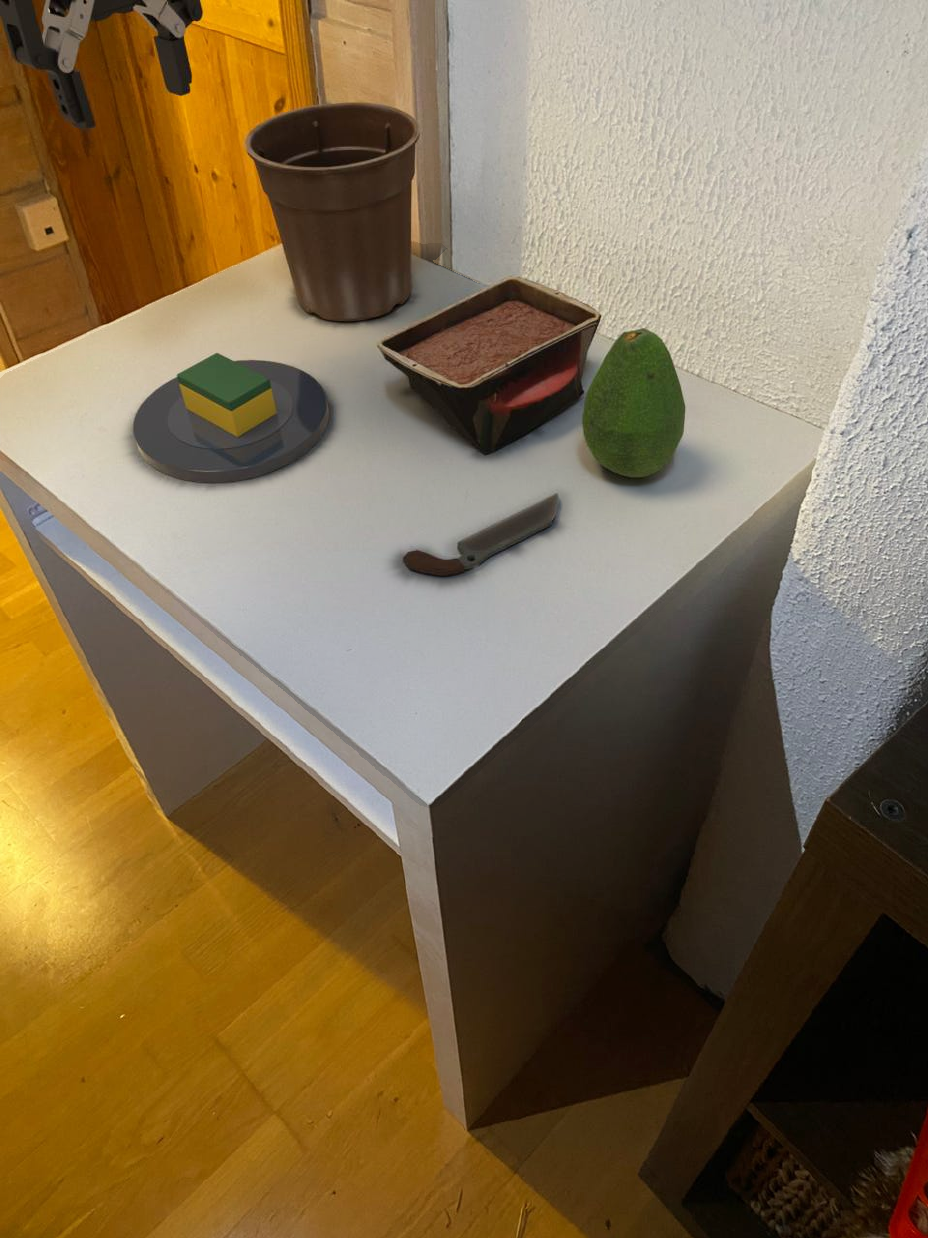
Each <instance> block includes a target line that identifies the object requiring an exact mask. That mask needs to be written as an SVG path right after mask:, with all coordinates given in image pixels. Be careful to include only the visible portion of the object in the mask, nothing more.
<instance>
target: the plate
mask: <svg viewBox="0 0 928 1238" xmlns="http://www.w3.org/2000/svg"><path fill="white" fill-rule="evenodd" d="M234 361H235V362H237V363H239V364H241V365H243V366H245V367H247V368H249V369H251V370H253V371H255V372H257V373H258V374H260V375H262V376H264V377H266V378H268V379H269V380H270V384H271V389H272V393H273V398H274V403H275V407H276V412H277V413H276V414H275V415H273V416H272V417H270V418H268V419H267V420H265V421H263V422H262V423H260V424H259V425H257V426H255V427H254V428H252V429H250V430H249V431H247V432H246V433H244V434H242V435H241V436H239V437H236V436H234V435H233V434H231V433H229V432H227V431H226V430H224V429H222V428H220V427H218V426H217V425H215V424H213V423H211V422H209V421H208V420H206V419H204V418H202V417H201V416H199V415H197V414H195V413H193V412H192V411H190V410H188V409H187V408H186V405H185V401H184V398H183V395H182V391H181V388H180V385H179V384H180V383H179V381H178V378H177V376H175V377H174V378H171V379H169V380H168V381H167V382H165V383H163V384H161V385H160V386H159V387H158V388H157V389H155V390H154V391H152V393H150V394H149V395H148V396H147V397H146V398H145V399H144V400H143V402H142V403H141V404H140V405H139V408H138V409H137V411H136V413H135V416H134V418H133V422H132V423H133V424H132V434H133V437H134V441H135V443H136V447H137V449H138V452H139V453H140V455H141V457H142V459H144V460H145V461H146V463H147V464H149V466H151V467H152V468H153V469H155V470H157V471H159V472H160V473H162V474H164V475H167V476H170V477H172V478H175V479H179V480H183V481H187V482H195V483H208V484H209V483H211V484H213V483H216V484H217V483H229V482H230V483H232V482H239V481H243V480H249V479H254V478H257V477H260V476H264V475H266V474H271V473H272V472H276V471H277V470H280V469H282V468H284V467H286V466H288V465H291V463H294V462H295V461H297V460H299V459H300V458H301V457H303V456H304V455H305V454H306V453H308V452H309V451H310V450H311V449H312V448H313V447H315V446H316V444H317V443H318V442H319V441H320V439H321V438H322V437H323V435H324V433H325V431H326V429H327V426H328V424H329V417H330V411H329V410H330V409H329V405H328V403H329V402H328V398H327V395H326V391H325V390H324V388H323V386H322V385H321V384H320V382H318V380H317V379H316V378H314V377H313V376H312V375H311V374H309V373H307V371H305V370H302V369H301V368H298V367H296V366H292V365H289V364H286V363H282V362H276V361H272V360H261V359H242V360H241V359H239V360H234Z"/></svg>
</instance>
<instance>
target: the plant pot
mask: <svg viewBox="0 0 928 1238" xmlns="http://www.w3.org/2000/svg"><path fill="white" fill-rule="evenodd" d="M420 134H421V128H420V125H419V122H418V121H417V119H416V118H415V117H414V116H412V115H411V114H409V113H408V112H405V111H403V110H401V109H399V108H397V107H393V106H389V105H386V104H380V103H373V102H359V101H358V102H357V101H354V102H353V101H351V102H345V101H344V102H336V103H320V104H315V105H309V106H303V107H299V108H296V109H292V110H288V111H284V112H282V113H279V114H277V115H274V116H272V117H269V118H267V119H265V120H264V121H262V122H260V123H258V124H257V125H256V126H254V127H253V128H252V129H251V130H250V131H249V132H248V133H247V135H246V137H245V140H244V147H245V148H244V149H245V151H246V154H247V155H248V156H249V157H250V159H251V160H253V163H254V165H255V168H256V171H257V175H258V179H259V182H260V187H261V189H262V191H263V193H264V194H265V195H266V196H267V198H268V202H269V205H270V209H271V212H272V215H273V219H274V221H275V225H276V228H277V231H278V235H279V239H280V242H281V246H282V249H283V252H284V256H285V259H286V263H287V266H288V267H287V268H288V271H289V274H290V277H291V280H292V284H293V289H294V291H295V296H296V299H297V302H298V304H299V306H300V307H301V309H303V310H304V311H305V312H306V313H308V314H312V313H314V314H316V315H318V316H319V317H320V318H321V319H323V320H327V321H334V322H335V321H336V322H356V321H357V322H359V321H365V320H371V319H373V318H378V317H381V316H383V315H386V314H388V313H390V312H391V311H392V309H393V308H394V307H395V306H396V305H397V304H398V305H403V304H404V303H405V302H406V301H407V300H408V299H409V298H410V295H411V291H412V198H413V197H412V196H413V195H412V194H413V193H412V191H413V190H412V189H413V179H414V178H415V173H416V144H417V143H418V141H419V139H420Z"/></svg>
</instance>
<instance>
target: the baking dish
mask: <svg viewBox="0 0 928 1238" xmlns="http://www.w3.org/2000/svg"><path fill="white" fill-rule="evenodd" d="M602 317H603V315H602V314H601V313H600V312H599V311H598V310H596V309H595V308H593V307H592V306H591V305H590V304H587V303H584V302H582V301H580V300H579V299H577V298H575V297H572V296H569V295H568V294H565V293H564V292H561V291H559V290H556V289H554V288H551V287H549V286H547V285H544V284H542V283H538V282H535V281H533V280H530V279H527V278H525V277H524V278H523V277H521V276H511V275H510V276H507V277H505V278H502V279H501V280H499V281H497V282H494V283H493V284H491V285H489V286H487V287H484V288H482V289H480V290H478V291H476V292H474V293H472V294H471V295H468V296H467V297H465V298H462V299H460V300H458V301H457V302H455V303H453V304H450V305H449V306H446V307H444V308H442V309H440V310H438V311H436V312H434V313H432V314H430V315H428V316H426V317H424V318H422V319H420V320H418V321H415V322H413V323H411V324H409V325H407V326H405V327H403V328H401V329H399V330H397V331H394V332H393V333H391V334H389V335H387V336H384V337H383V338H381V339H380V340H378V342H377V345H376V347H377V348H378V351H380V353H381V354H382V356H383V357H384V360H385V361H386V362H388V363H390V364H391V365H392V366H393V367H395V368H396V369H397V370H399V371H400V372H401V373H402V374H404V375H405V376H406V377H407V381H408V383H409V387H410V389H411V390H413V391H414V392H416V393H418V394H420V395H421V396H422V397H423V398H425V400H426V401H427V402H428V403H429V404H430V405H431V406H432V407H433V408H434V409H435V410H436V411H437V412H438V413H439V414H440V415H441V416H442V418H444V419H445V420H446V421H447V423H448V424H449V425H451V426H452V427H453V428H454V429H455V430H456V432H458V433H459V434H460V435H461V437H463V438H464V439H465V440H466V441H467V442H468V443H469V444H470V445H472V446H473V447H474V448H476V449H477V451H479V452H480V453H481V454H483V456H486V455H489V454H493V453H495V452H497V451H499V450H500V449H502V448H504V447H505V446H507V445H509V444H511V443H512V442H515V441H516V440H518V439H519V438H522V437H523V436H524V435H527V434H528V433H529V432H531V431H532V430H534V429H536V428H537V427H539V426H540V425H542V424H543V423H545V422H546V421H547V420H549V419H551V418H553V417H554V416H555V415H557V414H559V413H560V412H561V411H563V410H565V409H566V408H567V407H568V406H570V405H572V404H573V403H575V402H576V401H577V400H579V399H580V398H581V397H582V396H583V395H585V390H584V387H583V384H582V380H583V374H584V370H585V366H586V361H587V357H588V353H589V349H590V347H591V344H592V342H593V340H594V337H595V335H596V332H597V331H598V327H599V326H600V323H601V320H602Z"/></svg>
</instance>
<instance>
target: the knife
mask: <svg viewBox="0 0 928 1238" xmlns="http://www.w3.org/2000/svg"><path fill="white" fill-rule="evenodd" d="M559 501H560V500H559V494H558V493H554V494H552V495H550V496H548V497H546V498H543V499H542V500H540V501H538V502H536V503H534V504H532V505H530V506H528V507H526V508H524V509H522V510H519V511H517V512H516V513H514V514H512V515H510V516H507V517H505V518H504V519H502V520H499V521H497V522H495V523H494V524H492V525H490V526H487V527H485V528H484V529H481V530H479V531H476V532H475V533H473V534H471V535H469V536H467V537H465V538H463V539H461V540H459V541H457V550H458V552H459V553H460V554H461V555H460V556H458V557H455V558H450V559H442V558H439V557H437V556H434V555H433V554H429V553H428V552H425V551H422V550H418V549H416V550H411V551H407V553H406V554H404V556H402V562H403V563H404V564H405V566H406V567H408V569H409V570H413V571H417V572H420V573H424V574H430V575H433V576H434V575H435V576H441V577H442V576H451V575H456V574H459V573H462V572H464V571H465V570H469V569H471V568H474V567H476V566H478V565H480V564H482V562H484V561H486V559H488V558H489V557H491V556H492V555H495V554H497V553H499V552H500V551H503V550H505V549H507V548H509V547H510V546H513V545H515V544H516V543H518V542H520V541H522V540H524V539H526V538H529V537H530V536H532V535H534V534H536V533H538V532H540V531H542V530H544V529H546V528H548V527H549V526H551V525H552V523H553V520H554V519H555V518H556V515H557V512H558V506H559ZM471 560H472V561H471Z"/></svg>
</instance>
